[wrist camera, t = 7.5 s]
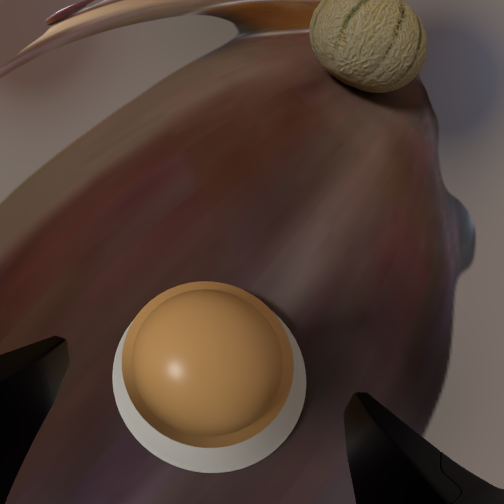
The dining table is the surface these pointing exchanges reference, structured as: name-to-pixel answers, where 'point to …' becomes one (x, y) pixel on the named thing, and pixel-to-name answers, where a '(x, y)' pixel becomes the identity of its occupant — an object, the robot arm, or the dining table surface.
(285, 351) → the orange domed peg
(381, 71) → the cantaloupe
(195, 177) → the dining table surface
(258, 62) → the dining table surface
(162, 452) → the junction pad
